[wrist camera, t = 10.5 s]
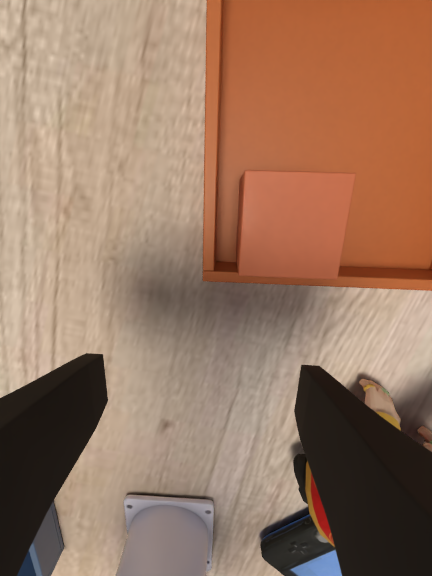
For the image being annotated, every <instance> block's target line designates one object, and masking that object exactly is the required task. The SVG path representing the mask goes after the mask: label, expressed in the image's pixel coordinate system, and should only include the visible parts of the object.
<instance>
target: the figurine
mask: <svg viewBox="0 0 432 576" xmlns="http://www.w3.org/2000/svg"><path fill="white" fill-rule="evenodd" d="M359 383H360V384H361V386H363V387H364V391H365V392H366V397H365V404H366V405H367V406H368V407H370V408H371V409H372V410H374V411H375V412H376V413H377V414H379V415H380V416H381V417H383V418H384V419H385V420H387V421H388V422H389V423H391V424H392V425H393V426H395V427H396V428H398V429H399V430H400V431H401V428H400V422H401V419H400V417H399V415H398V414H397V413H396V411H395V408H394V405H393V400H392V398H391V397H390V396H389V392H387V391H386V390H385V389H384V388H383V387H381V386H380V385H378V384H376V383H375V382H374V381H371V380H366V379H361V380H360V382H359ZM418 433H419V435H421V436H423V437H424V439H425V440H424V441H425V442H426V443H424V444H423V445H422V446H424V447H425V448H427V449H428V450H430V451H431V452H432V432H431V431H430V430H429V429H427V428H426V427H424V426H421V427H420V428H419V429H418ZM293 463H294V473H295V476H296V479H297V482H298V484H299V492H300V494H301V496H302V499H303V501H304V502H306V503H307V504H308V507H309V513H310V515H311V517H312V519H313V521H314V523H315V525H316V527H317V529H318V531H319V533H320V535H321V536H323V537H324V538H325V539H326V540H327V541H328V542H329V543H330V544H332V545H333V546H334V542H333V538H332V534H331V530H330V527H329V524H328V521H327V517H326V514H325V511H324V508H323V505H322V502H321V499H320V496H319V494H318V491H317V488H316V485H315V482H314V479H313V476H312V473H311V470H310V467H309V464H308V461H307V458H306V455H305V454H298V455H297V456H296V457H295V458H294V462H293ZM334 547H335V546H334Z"/></svg>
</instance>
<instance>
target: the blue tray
mask: <svg viewBox="0 0 432 576" xmlns="http://www.w3.org/2000/svg"><path fill="white" fill-rule="evenodd" d="M63 549H64V545H63V541H62V537H61V532H60V528H59V524H58V519H57V515H56V511H55V506H54V502H53V503H52V505H51V506H50V508H49V510H48V512H47V514H46V516H45V518H44V520H43V522H42V524H41V526H40V528H39V530H38V532H37V534H36V536H35V539H34V541H33V543H32V545H31V547H30V549H29V551H28V553H27V555H26V557H25V559H24V562H23V564H22V566H21V568H20V570H19V572H18V575H17V576H51V574H52V572H53V570H54V568H55V566H56V564H57V562H58V560H59V557H60V555H61V553H62V551H63Z"/></svg>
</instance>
